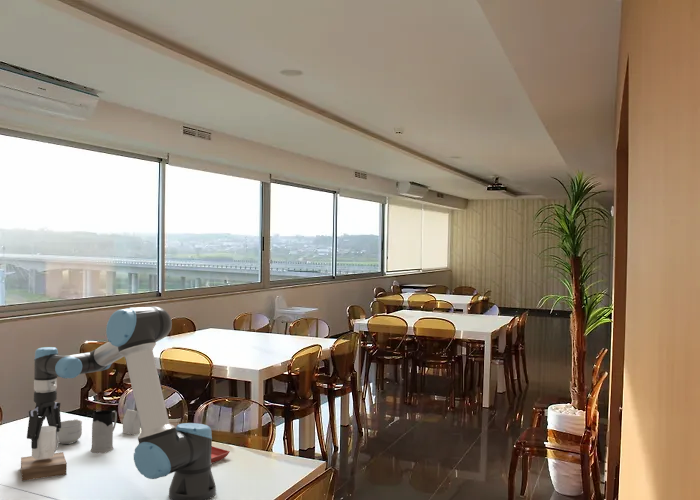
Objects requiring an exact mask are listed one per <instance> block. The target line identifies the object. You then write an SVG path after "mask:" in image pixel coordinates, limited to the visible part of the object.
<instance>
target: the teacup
mask: <svg viewBox="0 0 700 500" xmlns="http://www.w3.org/2000/svg"><path fill="white" fill-rule="evenodd" d="M82 424H83V421H81V420H79V419H76V418H74V419H73V420H71V419H70V420H64V421H61V428H60V431H59V432H57V436H58V439H59V443H58V444H62V445H68V444H73V443H76V442H77V441H78V440H79V439H81V437H82V435H83V434H82V433H83V431H82V430H83V429H82V427H83V426H82ZM57 425H58V424H57Z"/></svg>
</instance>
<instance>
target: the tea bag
mask: <svg viewBox="0 0 700 500" xmlns="http://www.w3.org/2000/svg"><path fill="white" fill-rule="evenodd" d="M123 433H124V434H128V435H131V434H132V436H135V435H137V434H140V433H141V426H140V422H139V417H138V413H137V410H133V409H129V408H127V409H125V413H124V415H123V418H122V434H123ZM134 434H135V435H134Z"/></svg>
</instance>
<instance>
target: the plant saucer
mask: <svg viewBox="0 0 700 500" xmlns="http://www.w3.org/2000/svg"><path fill="white" fill-rule="evenodd" d="M229 454H230V451H229V450H227V449H223V448H219V447H217V446H212V449H211V464H213V463H216V462H220V461H222V460H224V459H225V458H226V457H227V456H228V455H229Z"/></svg>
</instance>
